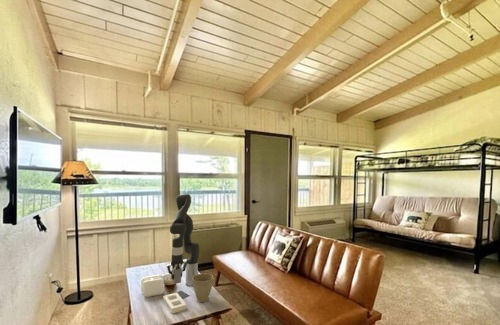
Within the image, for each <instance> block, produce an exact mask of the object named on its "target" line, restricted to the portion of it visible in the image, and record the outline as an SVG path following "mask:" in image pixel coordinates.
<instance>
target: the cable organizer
mask: <svg viewBox="0 0 500 325" xmlns="http://www.w3.org/2000/svg"><path fill="white" fill-rule="evenodd" d="M140 283H141V284H140V290H141V292H142V296H143V297H144V298H149V297H152V296H159V295H160V296H161V295H162V294H163V293H164V290H165V288H164V287H165V280H164V278H163V276H162V274H153V275H148V276H147V275H146V276H143V277H141V280H140Z"/></svg>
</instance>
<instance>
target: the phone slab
mask: <svg viewBox="0 0 500 325" xmlns="http://www.w3.org/2000/svg"><path fill="white" fill-rule="evenodd" d="M175 293H178V294H179V296H180V297H181V298H182V299H183V300H184V299H185V298H188V297H190V294H188V293H186V292H185V291H183V290H179V291H177V292H175Z"/></svg>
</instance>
